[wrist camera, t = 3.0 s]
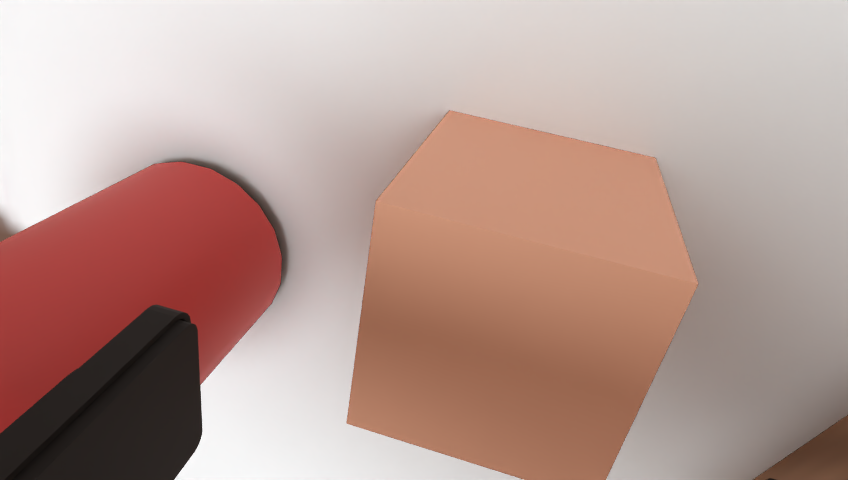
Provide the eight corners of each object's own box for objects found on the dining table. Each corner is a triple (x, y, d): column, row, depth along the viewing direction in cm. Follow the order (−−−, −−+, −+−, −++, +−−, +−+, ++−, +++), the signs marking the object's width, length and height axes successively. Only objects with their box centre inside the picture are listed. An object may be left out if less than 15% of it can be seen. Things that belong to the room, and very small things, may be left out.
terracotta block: (655, 157, 16) (698, 283, 10) (591, 325, 19) (595, 501, 13) (449, 110, 17) (375, 200, 11) (418, 278, 20) (346, 423, 14)
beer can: (298, 325, 22) (47, 661, 12) (150, 303, 24) (-193, 585, 13) (279, 163, 19) (-83, 420, 9) (109, 148, 21) (-375, 354, 10)
